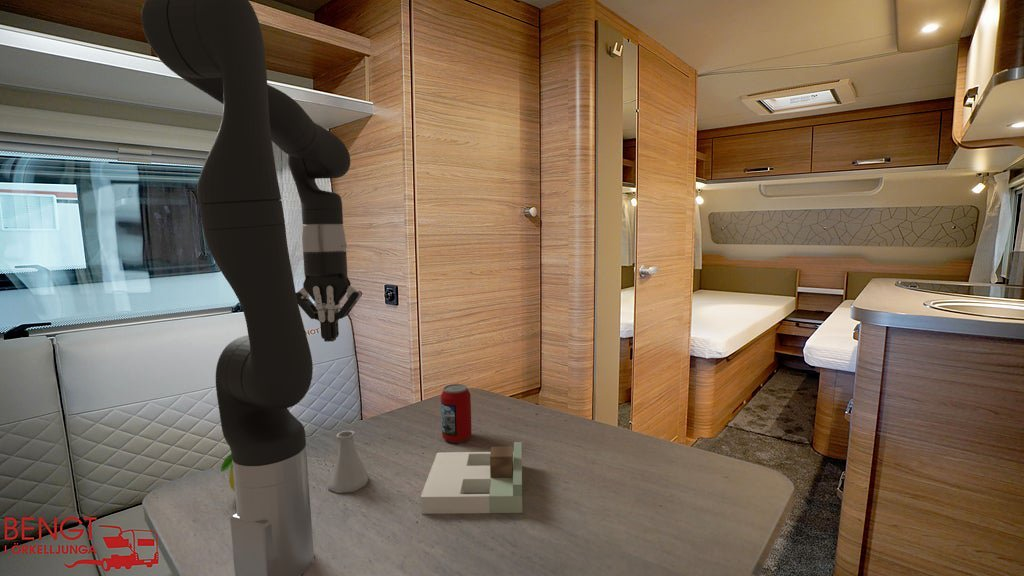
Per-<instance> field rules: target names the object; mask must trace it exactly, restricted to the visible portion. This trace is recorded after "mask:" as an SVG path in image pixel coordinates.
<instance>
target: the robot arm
mask: <svg viewBox="0 0 1024 576" xmlns="http://www.w3.org/2000/svg"><path fill="white" fill-rule="evenodd" d="M141 25H142V30H143V33H144V37H145V38H146V41H147V43H148V45H149V47H150V48H151V49H152V51H153V53H154V54H155V56H156V57H157V58H158V59H159V60H160V62H161V63H163V65H165V66H166V67H167V68H168V69H169V70H170V71H171V72H173V73H174V74H175V75H177V76H179V77H180V78H181V79H183V80H184V81H185V82H187V83H189V84H191V85H192V86H194V87H195V88H197V89H198V90H200V91H202V92H203V93H205V94H207V95H208V96H209V97H211V98H213V99H214V100H216V101H217V102H219V103H221V104H222V105H223V108H222V109H223V110H222V115H221V122H220V125H219V129H218V132H217V134H216V135H215V139H214V142H213V144H212V146H211V147H210V150H209V152H208V154H207V157H206V159H205V161H204V163H203V165H202V169H201V171H200V174H199V177H198V180H197V185H196V186H197V187H196V197H197V204H198V209H199V215H200V219H201V220H200V221H201V226H202V229H203V230H202V232H203V235H204V239H205V242H206V245H207V248H208V250H209V252H210V254H211V256H212V258H213V260H214V262H215V264H216V266H217V267H218V269H219V270H220V272H221V274H222V275H223V276H224V278H225V280H226V281H227V282H228V284H229V287H231V289H232V291H233V293H234V294H235V296H236V298H237V300H238V302H239V304H240V306H241V309H242V312H243V315H244V319H245V322H246V323H245V324H246V329H247V334H248V335H243V336H240V337H237V338H236V339H234V340H233V341H230V342H229V343H228V344H227V345H226V346H225V348H224V349H223V350H222V351H221V352H220V353H221V354H220V355H219V358H218V360H217V364H216V367H215V391H216V398H217V405H218V411H219V413H218V414H219V419H220V426H221V431H222V434H223V438H224V440H225V442H226V443H227V445H228V446H229V448H230V453H231V454H230V455H232V464H233V475H234V488H235V492H234V496H235V497H234V498H235V509H236V513H234V514H233V515H231V516H230V518H229V521H230V533H231V544H232V545H231V546H232V555H233V565H234V566H233V567H234V568H233V569H234V576H302V575H303V574H304V573H306V572H307V571H308V569H309V568H310V567H311V566H312V564H313V563H314V559H315V550H314V536H313V524H312V511H311V510H312V509H311V497H310V483H309V470H308V469H309V468H308V467H309V466H308V453H307V452H308V451H307V442H306V441H307V436H306V430H305V427H304V425H303V423H302V422H301V421H300V420H299V419H298V418H296V417H295V416H294V415H293V413H291V411H290V410H289V408H293V407H294V406H296V405H298V404H299V403H300V402H301V401H302V400H303V399H304V398H305V397H306V395H307V393H308V392H309V390H310V387H311V384H312V379H313V372H314V369H313V367H314V366H313V364H314V363H313V358H312V356H313V355H312V352H311V348H310V344H309V339H308V336H307V333H306V329H305V325H304V321H303V317H302V314H301V309H302V311H303V312H304V313H305V314H306V315H307V316H308V317H309V318H310V319H311V320H317V321H318V322H319V324H320V336H321V339H322V340H323V341H324V342H329V343H330V342H335V341H336V340H337V338H338V337H339V335H340V332H339V320H340V319H344V318H346V317H347V316H349V314H350V312H351V311H352V310H353V309H354V307H355V305H356V304H358V301H359V300H360V299H361V297H362V295H363V292H362V291H361V290H357V289H355V288H354V287H353V286H351V280H349V277H348V260H347V259H348V258H347V248H348V247H347V242H346V239H347V238H346V234H345V233H346V232H345V228H344V213H343V202H342V198H341V196H340V195H339V194H338V193H336V192H332V191H329V190H322V189H320V187H318V184H317V182H316V180H317V179H320V180H321V179H339V178H341V177H343V176H345V175H346V174H347V173H348V172H349V170H350V167H351V156H350V152H349V150H348V148H347V146H346V144H345V143H344V142H343V141H342V140H341V139H340V138H339V136H337V135H335V134H334V133H333V132H332V131H329V130H328V129H326V128H324V127H323V126H322V125H319V124H317V123H315V122H314V120H313V119H312V118H311V117H310V116H309V115H308V113H307V111H305V110H304V109H303V107H302V106H301V105H300V104H299V103H298V102H297V101H296V100H294V99H293V98H292V97H291V96H290V95H288V94H287V93H285V92H283V91H281V90H280V89H278V88H276V87H274V86H272V85H270V84H268V76H267V75H268V73H267V72H268V71H267V60H266V49H265V44H264V42H265V41H264V37H263V33H262V32H263V31H262V29H261V24H260V22H259V18H258V15H257V13H256V11H255V9H254V7H253V5H252V4H251V2H250V1H249V0H145V1H144V3H143V5H142V8H141ZM273 143H274V144H275V145H276V147H278V148H279V149H280V150H281V151H282V152H283V153H285V154H286V159H287V165H288V168H289V171H290V173H291V176H292V178H293V181H294V184H295V187H296V189H297V194H298V196H299V200H300V203H301V205H300V206H301V222H302V231H301V232H302V233H301V241H302V255H303V258H302V259H303V272H304V276H305V277H304V282H303V283H302V284H303V285H302V288H300V289H299V291H296V287H295V282H294V275H293V270H292V265H291V264H292V263H291V259H290V254H289V253H290V252H289V246H288V239H287V232H286V231H287V230H286V220H285V215H284V208H283V207H284V206H283V201H282V196H281V191H280V185H279V181H278V180H279V179H278V174H277V168H276V162H275V155H274V148H273V147H274V146H273ZM345 295H346V298H347V300H346V301H345V303H344V304H343V305H342V307H341V302H342V300H343V298H344V297H345ZM310 298H311V299H312V300H313V302H314V303H313V302H312V300H311V299H310ZM300 308H301V309H300Z"/></svg>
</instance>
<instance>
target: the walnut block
mask: <svg viewBox="0 0 1024 576" xmlns="http://www.w3.org/2000/svg"><path fill="white" fill-rule="evenodd" d="M490 452H491V453H490V478H513V452H514V446H491V447H490Z"/></svg>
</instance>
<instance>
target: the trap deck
mask: <svg viewBox="0 0 1024 576" xmlns="http://www.w3.org/2000/svg"><path fill="white" fill-rule="evenodd" d="M522 447H523V446H522V441H514V442H513V478H490V453H491V451H464V452H463V451H460V452H459V451H458V452H457V451H454V452H452V451H451V452H449V451H448V452H437V453H436V455H435V458H434V459H433V463H432V466H431V468H430V471H429V473H428V477H427V479H426V482H425V484H424V487H423V489H422V492H421V494H420V513H421V514H422V515H423V514H424V515H425V514H427V515H430V514H431V515H435V514H436V515H437V514H441V515H442V514H444V515H445V514H447V515H448V514H449V515H450V514H522V513H523V450H522V449H523V448H522Z"/></svg>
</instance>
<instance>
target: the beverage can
mask: <svg viewBox="0 0 1024 576" xmlns="http://www.w3.org/2000/svg"><path fill="white" fill-rule="evenodd" d="M471 405H472V402H471V393H470V391H469V389H468V385H465V384H460V383H454V384H452V383H451V384H447V385H446V386H444V387H443V390H442V392H441V394H440V414H441V415H440V416H441V434H442V435H441V436H442V438H443V440H446V441H447V442H449V443H454V444H457V443H463V442H466V441H467V440H468V439H469V438H470V437H471V436H472V406H471Z"/></svg>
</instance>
